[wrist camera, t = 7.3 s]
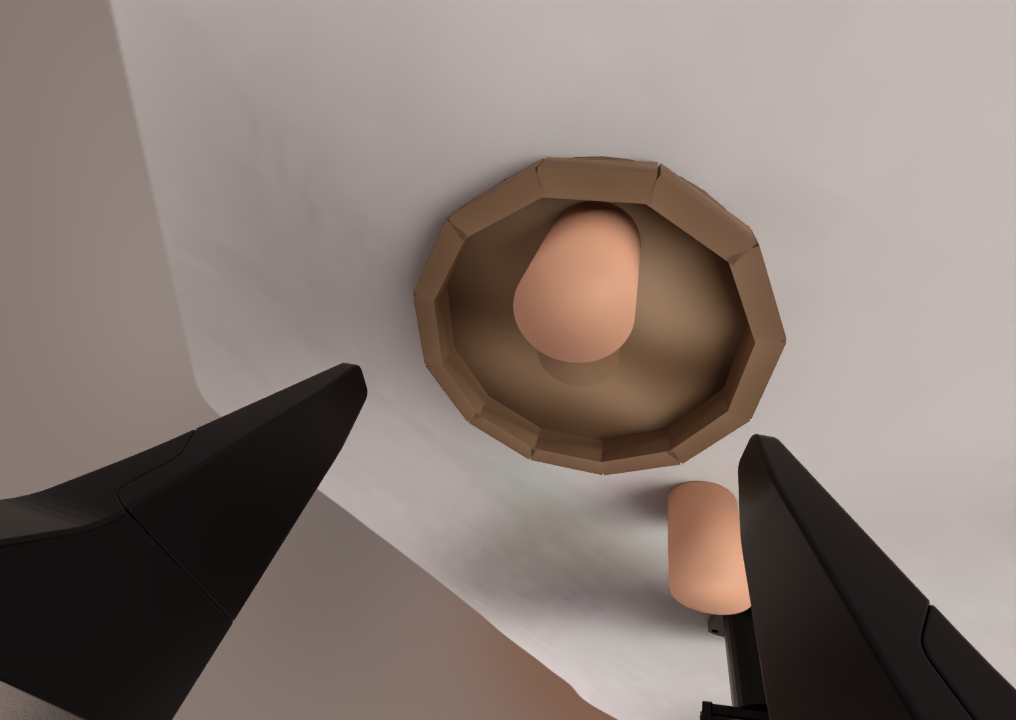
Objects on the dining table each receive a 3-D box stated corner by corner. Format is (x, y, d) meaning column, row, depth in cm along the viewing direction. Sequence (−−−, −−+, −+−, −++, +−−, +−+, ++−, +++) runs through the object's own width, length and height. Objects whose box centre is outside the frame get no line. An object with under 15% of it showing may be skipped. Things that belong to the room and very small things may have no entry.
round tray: (710, 465, 23) (714, 498, 22) (451, 415, 27) (437, 440, 25) (835, 165, 14) (859, 182, 12) (416, 149, 18) (390, 160, 16)
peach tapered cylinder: (726, 527, 26) (739, 622, 22) (661, 513, 27) (662, 601, 23) (746, 489, 24) (764, 586, 19) (674, 475, 25) (678, 564, 20)
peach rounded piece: (632, 294, 18) (624, 370, 14) (545, 283, 19) (513, 353, 15) (649, 203, 16) (645, 262, 12) (549, 197, 17) (512, 249, 12)
